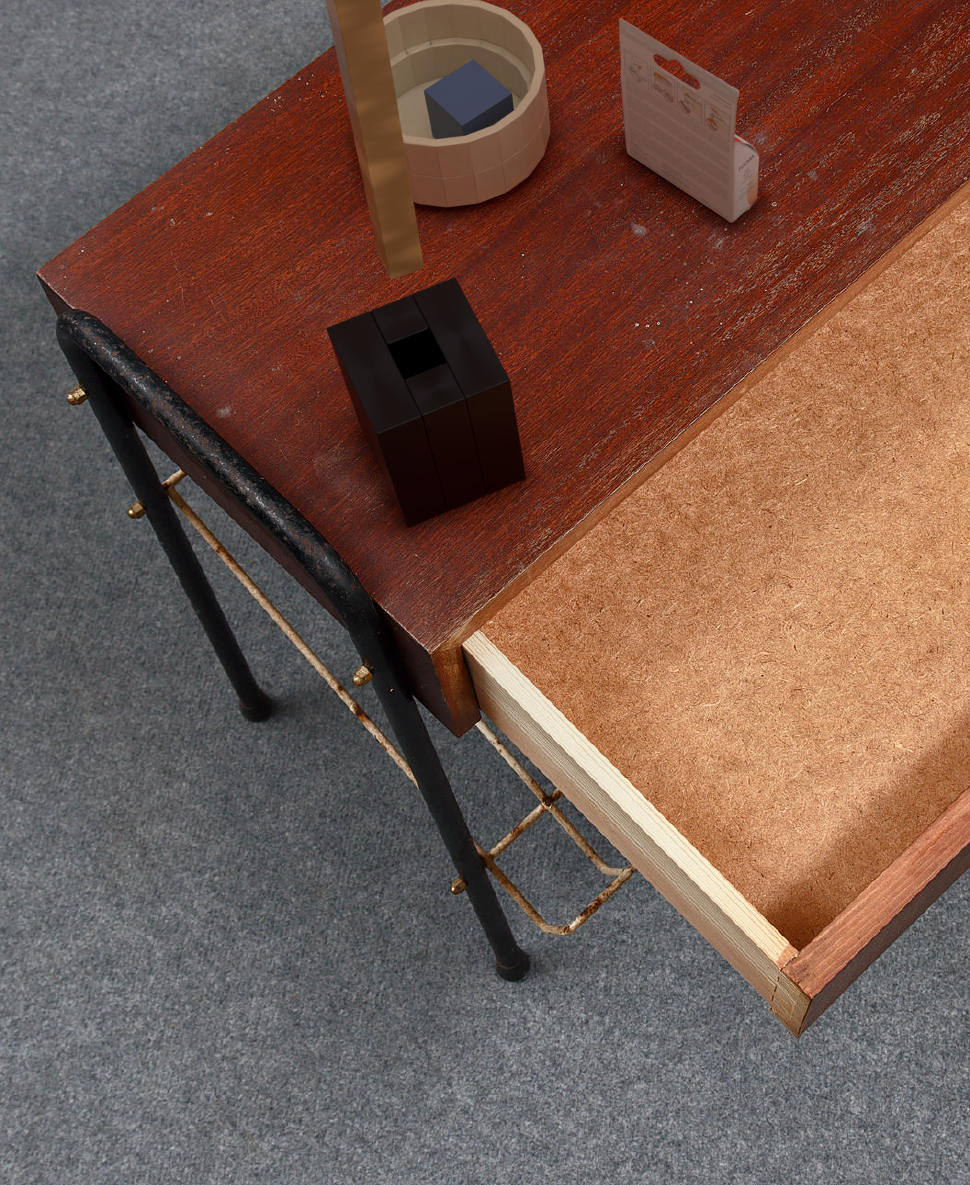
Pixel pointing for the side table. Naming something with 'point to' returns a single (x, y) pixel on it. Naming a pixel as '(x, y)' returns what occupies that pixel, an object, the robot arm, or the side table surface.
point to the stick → (377, 131)
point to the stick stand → (431, 400)
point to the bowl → (437, 48)
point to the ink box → (685, 127)
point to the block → (466, 102)
